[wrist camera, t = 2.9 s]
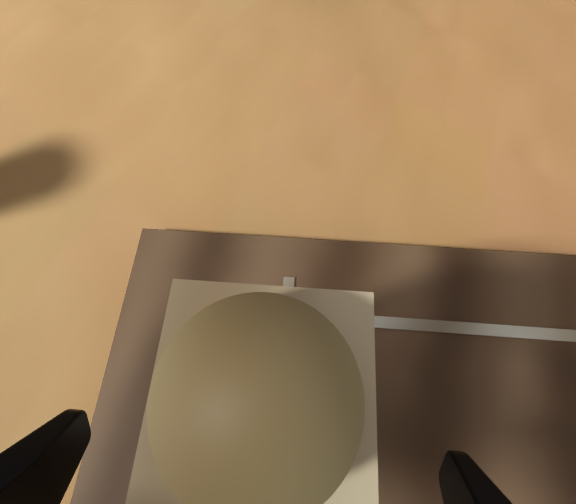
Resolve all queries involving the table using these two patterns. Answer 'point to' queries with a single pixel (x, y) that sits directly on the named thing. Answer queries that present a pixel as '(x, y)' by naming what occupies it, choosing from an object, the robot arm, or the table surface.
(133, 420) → the walnut board
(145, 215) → the table surface
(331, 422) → the cube with dome top
